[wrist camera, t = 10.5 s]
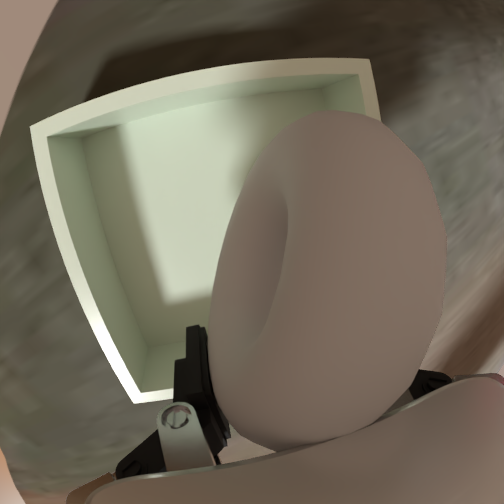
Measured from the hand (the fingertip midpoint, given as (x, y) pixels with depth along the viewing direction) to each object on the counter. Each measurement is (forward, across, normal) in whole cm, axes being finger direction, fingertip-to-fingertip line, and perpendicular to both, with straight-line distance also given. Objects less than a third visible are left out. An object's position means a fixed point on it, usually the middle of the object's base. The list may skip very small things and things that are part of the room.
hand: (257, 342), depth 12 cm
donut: (+3, -1, -4) cm, 5 cm away
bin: (+7, 0, -3) cm, 8 cm away
